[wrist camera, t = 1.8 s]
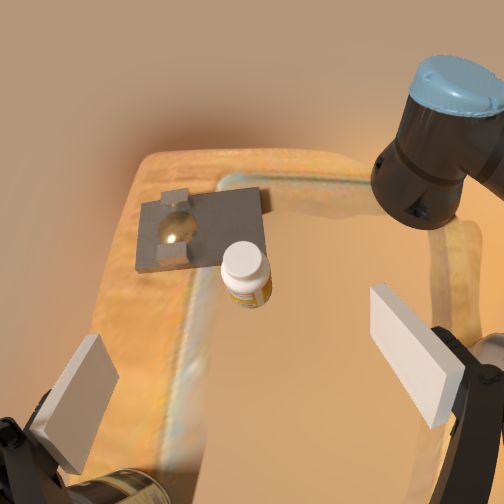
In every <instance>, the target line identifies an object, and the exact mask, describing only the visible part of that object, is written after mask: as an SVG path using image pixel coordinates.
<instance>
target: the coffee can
mask: <svg viewBox="0 0 504 504" xmlns="http://www.w3.org/2000/svg"><path fill="white" fill-rule="evenodd" d="M66 489H67V491H68V493H69V495H70V498H71V500H72V502H73V504H171V500H170V498H169V496H168V494H167V492H166V491H165V489H164V488H163V487H162V486H161V485H160V484H159V483H158V481H156V480H155V479H154V478H152V477H151V476H149V475H148V474H146V473H144V472H141V471H138V470H134V469H119V470H116V471H114V472H112V473H110V474H107V475H104V476H101V477H98V478H95V479H92V480H89V481H85V482H82V483H79V484H75V485H72V486H68V487H66Z"/></svg>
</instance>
